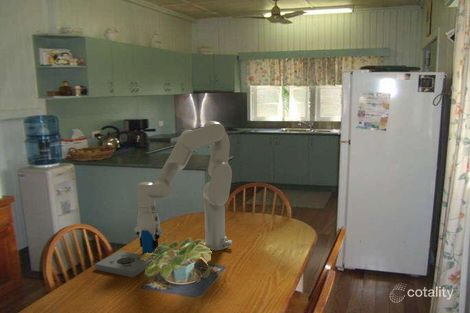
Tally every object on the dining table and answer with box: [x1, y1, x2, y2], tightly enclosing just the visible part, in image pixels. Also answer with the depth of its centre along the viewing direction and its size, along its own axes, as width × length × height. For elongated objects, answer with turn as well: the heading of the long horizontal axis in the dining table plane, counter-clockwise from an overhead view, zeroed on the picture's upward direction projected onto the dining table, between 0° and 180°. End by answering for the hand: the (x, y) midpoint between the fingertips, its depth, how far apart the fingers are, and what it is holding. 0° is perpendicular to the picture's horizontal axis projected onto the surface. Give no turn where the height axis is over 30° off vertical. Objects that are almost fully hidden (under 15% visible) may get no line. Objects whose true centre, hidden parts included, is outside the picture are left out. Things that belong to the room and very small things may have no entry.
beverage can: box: [141, 229, 156, 254], centre depth 194 cm, size 6×6×12 cm
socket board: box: [94, 250, 153, 279], centre depth 181 cm, size 20×16×2 cm
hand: (149, 246), depth 195 cm, fingers closed on beverage can, 6 cm apart
